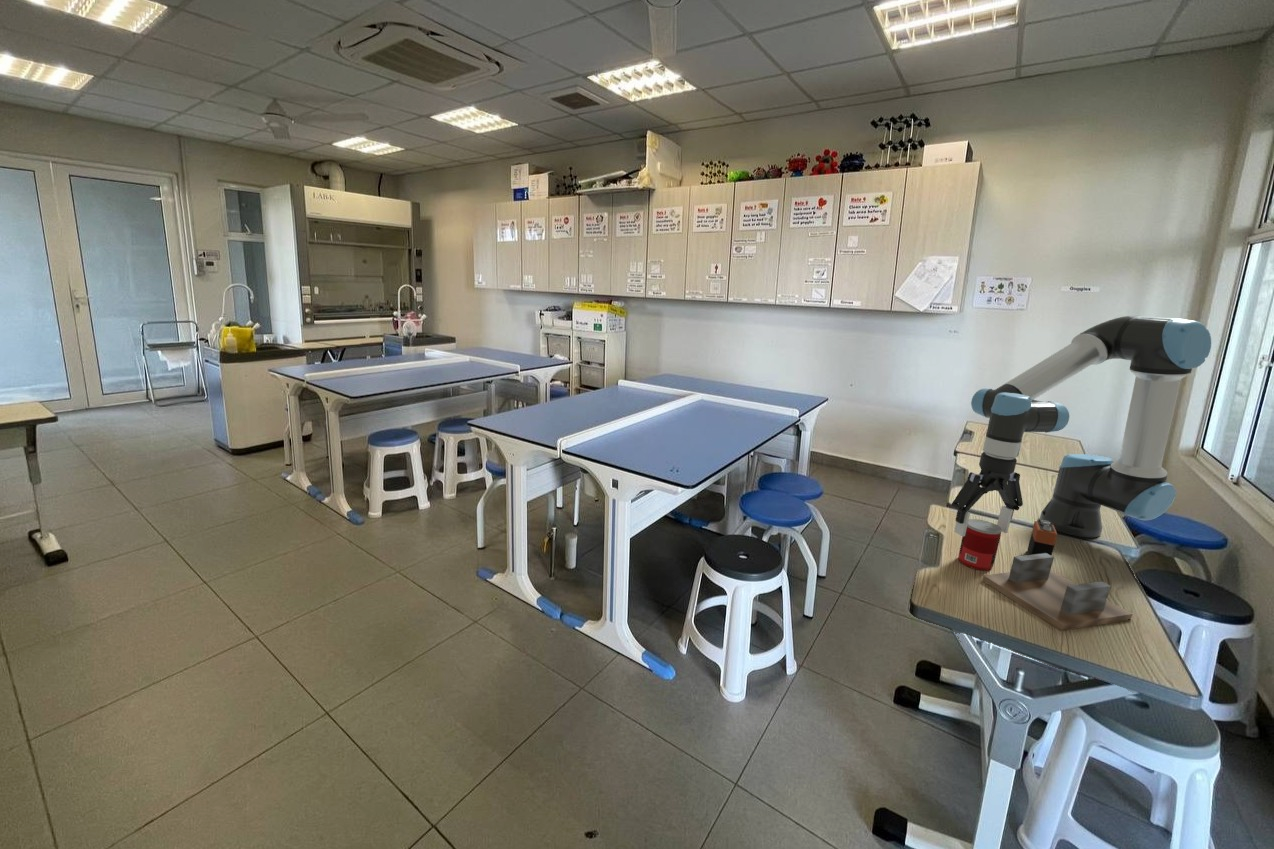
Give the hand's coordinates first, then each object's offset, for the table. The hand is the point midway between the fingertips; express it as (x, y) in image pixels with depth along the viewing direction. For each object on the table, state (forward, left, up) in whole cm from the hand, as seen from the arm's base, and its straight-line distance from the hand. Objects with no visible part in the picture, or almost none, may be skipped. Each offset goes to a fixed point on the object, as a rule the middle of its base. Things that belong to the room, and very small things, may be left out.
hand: (980, 532), depth 140 cm
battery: (-20, +1, -9) cm, 22 cm away
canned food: (0, 0, -9) cm, 9 cm away
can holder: (-4, +18, -9) cm, 20 cm away
